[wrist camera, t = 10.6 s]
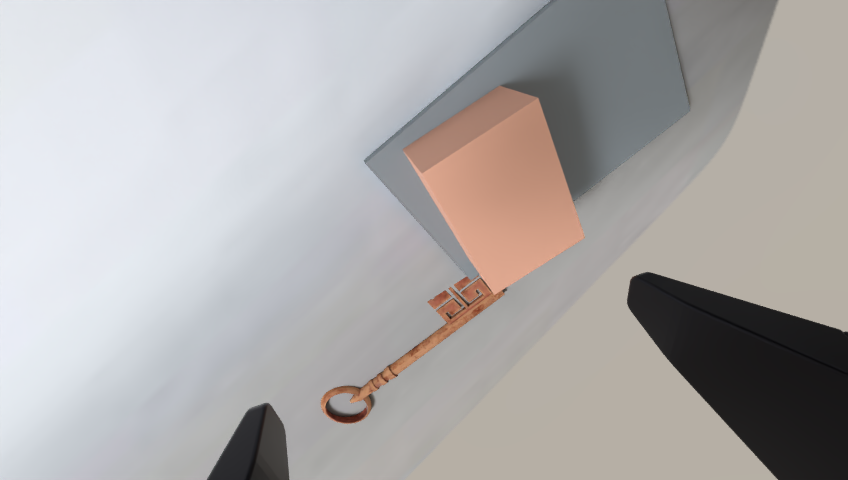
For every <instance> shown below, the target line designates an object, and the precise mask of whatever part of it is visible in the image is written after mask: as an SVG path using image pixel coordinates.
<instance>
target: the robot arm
mask: <svg viewBox="0 0 848 480" xmlns="http://www.w3.org/2000/svg"><path fill="white" fill-rule="evenodd" d="M627 304H628V307H629V309H630V310H631V312H632V313H633V314H634V316H635V317H636V318H637V320H638V321H639V322H640V324H641V325H642V326H643V328H644V329H645V330H646V332H647V333H648V334H649V336H650V337H651V338H652V339H653V341H654V342H655V344H656V345H657V346H658V347H659V349H660V350H661V351H662V353H663V354H664V355H665V356H666V358H667V359H668V360H669V361H670V362H671V364H672V365H673V366H674V367H675V368H676V369H677V370H678V371H679V373H680V374H681V375H682V376H683V377H684V378H685V379H686V380H687V381H688V382H689V383H690V385H691V386H692V387H693V388H694V389H695V390H696V391H697V392H698V393H699V394H700V395H701V396H702V397H703V399H704V400H705V401H706V402H707V403H708V404H709V405H710V406H711V407H712V408H713V409H714V411H715V412H716V413H717V414H718V415H719V416H720V417H721V418H722V419H723V420H724V422H725V423H726V424H727V425H728V426H729V427H730V428H731V429H732V430H733V431H734V432H735V433H736V435H737V436H738V437H739V438H740V439H741V440H742V441H743V442H744V443H745V444H746V445H747V447H748V448H749V449H750V450H751V451H752V452H753V453H754V454H755V455H756V456H757V457H758V459H759V460H760V461H761V462H762V463H763V464H764V465H765V466H766V467H767V468H768V469H769V470H770V471H771V473H772V474H773V475H774V476H775V477H776V478H777V479H778V480H848V332H842V331H841V330H839V329H836V328H833V327H829V326H826V325H823V324H819V323H816V322H813V321H809V320H806V319H803V318H799V317H796V316H793V315H790V314H786V313H783V312H780V311H776V310H773V309H770V308H766V307H763V306H760V305H756V304H753V303H750V302H747V301H743V300H740V299H736V298H733V297H730V296H727V295H723V294H720V293H717V292H714V291H710V290H707V289H704V288H700V287H697V286H694V285H690V284H687V283H684V282H680V281H677V280H674V279H670V278H667V277H664V276H661V275H657V274H654V273H650V272H646V273H642V274H639V275H636V276H634V277H632V279H631V280H630V286H629V292H628V298H627ZM207 480H289V469H288V457H287V446H286V434H285V429H284V425H283V423H282V421H281V420H280V418H279V417H278V415H277V414H276V412H275V411H274V409H273V408H272V406H271V405H270V404H269V403H264V404H261V405H258V406H255V407H252V408H250V409H249V410H248V411H247V412H246V413H245V415H244V417H243V419H242V420H241V422H240V424H239V425H238V427H237V429H236V430H235V432H234V434H233V436H232V437H231V439H230V441H229V442H228V444H227V446H226V448H225V449H224V451H223V453H222V454H221V456H220V458H219V460H218V461H217V463H216V465H215V466H214V468H213V470H212V472H211V473H210V475H209V477H208V478H207Z"/></svg>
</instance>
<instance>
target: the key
mask: <svg viewBox="0 0 848 480" xmlns="http://www.w3.org/2000/svg"><path fill="white" fill-rule="evenodd" d="M477 277H478V276H477ZM477 277H475V278H474V279H476V278H477ZM474 279H473V280H474ZM473 280H470V279H469V278H468V277H465V278H464V279H462V280H461V281H459V282H458V283H456V284H454V286H455V287H456V288H457V289H458V290H459V291H460V290H461V289H462V288H464V287H465V286H466V285H468V284H469V283H470V282H472V281H473ZM448 289H449V290H450V291H451V292H452V293H453V294H454V295H455V296H456V298H457V299H458V300H459V301H460V302H461V303H462V304H463V305H464V306H465V307H464V308H463V309H461V307H460V306H459V305H458V303H457V302H456V301H455V300H454V299H451V300H450V301H449V302H447V303H446V304H445V305H443V306H442V307H441V308H439V309H438V310H437V312H438V314H439V315H440V316H441V317H442V318H443V319H444V320H445V321H446V322H447V324H445V325H444V326H443V327H441V328H440V329H439V330H437V331H436V332H435V333H433V334H432V335H431V336H429V337H428V338H427V339H425V340H424V341H423V342H421V343H420V344H418V345H417V346H416V347H414V348H413V349H412V350H410V351H409V352H408V353H406V354H405V355H404V356H402V357H401V358H400V359H398V360H397V361H396V362H394V363H393V364H392V365H390V366H387V367H386V368H385V369H384V371H383V372H382V373H379V374H378V375H377V377H375V378H374V379H373V380H372V379H371V380H370V381H369V382H368V383H367V384H366V385H365V386H363V387H362V388H361V389H359V388H356V387H351V386H341V387H337V388H334V389H332V390H330V391H328V392H327V393H326V394H325V395H324V396H323V397H322V399H321V408H322V410H323V412H324V413H325V415H326V416H327V417H329V418H330V419H331V420H333V421H336V422H339V423H344V424H350V423H356V422H359V421H361V420H363V419H365V418H366V417H367V416H368V414H369V413H370V410H371V406H372V405H371V400H370V398H369V396H368V395H369V394H371V393H372V392H373V391H376V390H378V389H379V387H380V386H381V385H385V384H386V383H387V382H388V380H390V379H393V378H395V377H397V376H398V374H399V373H400V372H401V371H403V370H404V369H405V368H407V367H408V366H409V365H411V364H412V363H413V362H415V361H416V360H417V359H419V358H420V357H421V356H423V355H424V354H425V353H427V352H428V351H429V350H431V349H432V348H434V347H435V346H436V345H438V344H439V343H440V342H442V341H443V340H444V339H446V338H447V337H448V336H450V335H451V334H452V333H454V332H455V331H456V330H458V329H459V328H460V327H462V326H463V325H464V324H466V323H467V322H468V321H470V320H471V319H472V318H474V317H475V316H476V315H478V314H479V313H480V312H482V311H483V310H484V309H486V308H487V307H488V306H490V305H491V304H492V303H494V302H495V301H496V300H498V299H499V298H500V297H502V296H503V295H504V292H503V291H502V290H501V291H500V292H498V293H497V294H495V295H494V294H493V292H492V291H490V290H489V288H488V287H487V286H486V285H485V284H484V282H483V281H482V280H481V279H480V278H479V279H478V280H477V281H475V282H474V283H473V284H471V285H470V286H469V287H467V288H466V289H465V290H463V291H462V292H461V294H462V295H463V296H464V297H465V298H466V300H467V301H468V302H471V301H472V300H473V299H475V298H476V297H477V296H479V295H478V293H477V292H476V290H477V289H479V291H480V292H481V293H482V295H481V296H479V297H478V298H477V299H475V300H474V301H473V302H471V303H470V304H469V305H467V304H466V303H465V302H464V301H463V300H462V299H461V298H460V297H459V296H458V294H457V293H456V292H455V291H454V290H453V289H452V288H451V287H450V288H448ZM450 297H451V296H450V295H449V294H448V293H447V292H446V291H443V292H442V293H440V294H439V295H437V296H436V297H435V298H434V299H431V300H429V301H428V303H429V304H430V305H431V306H432V307H433V308H434V309H436V308H437V307H439V306H440V305H441V304H443V303H444V302H445V301H446V300H448V299H449V298H450ZM460 309H461V310H460ZM459 310H460V311H459ZM457 311H459V312H457ZM447 312H449V313H450V314H451V315H453V314H455V313H456V312H457V313H456V314H455V315H453V316H452V317H451V318H450V317H449V316H448V315H447V314H446V313H447ZM340 393H351V394H354V395H353V397H352V399H351V400H350V402H351V403H353V402H357V401H361V400H364V401H365V402H366V404H367V406H366V408H365V409H364V410H363V411H362V412H361V413H359V414H357V415H354V416H350V417H340V416H336V415H333V414H332V413H330V412H329V411H328V410H327V409H326V407H325V406H326V403H327V401H328V400H329V399H330V398H331V397H333V396H334V395H337V394H340Z"/></svg>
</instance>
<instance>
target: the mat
mask: <svg viewBox="0 0 848 480" xmlns="http://www.w3.org/2000/svg"><path fill="white" fill-rule="evenodd" d="M498 86H502V87H505V88H509V89H512V90H515V91H518V92H521V93H525V94H528V95H531V96H534V97H537V98H539V101H540V104H541V107H542V110H543V113H544V116H545V119H546V122H547V125H548V128H549V131H550V134H551V137H552V140H553V143H554V146H555V149H556V152H557V155H558V158H559V161H560V164H561V167H562V170H563V173H564V176H565V179H566V182H567V185H568V188H569V191H570V194H571V197H572V200H573V201H575V200H576V199H577V198H578V197H580V196H581V195H582V194H584V193H585V192H586V191H587V190H589V189H590V188H591V187H593V186H594V185H595V184H596V183H598V182H599V181H600V180H602V179H603V178H604V177H605V176H607V175H608V174H609V173H611V172H612V171H613V170H615V169H616V168H617V167H618V166H620V165H621V164H622V163H624V162H625V161H626V160H627V159H629V158H630V157H631V156H633V155H634V154H635V153H636V152H638V151H639V150H640V149H642V148H643V147H644V146H645V145H647V144H648V143H649V142H651V141H652V140H653V139H654V138H656V137H657V136H658V135H660V134H661V133H662V132H664V131H665V130H666V129H667V128H669V127H670V126H671V125H673V124H674V123H675V122H676V121H678V120H679V119H680V118H682V117H683V116H684V115H685V114H687V113H688V112H689V111H690V106H689V102H688V98H687V93H686V89H685V85H684V80H683V76H682V72H681V67H680V63H679V59H678V54H677V50H676V46H675V41H674V37H673V33H672V28H671V24H670V20H669V15H668V11H667V7H666V2H665V0H552V1H550V2H549V3H548V4H547V5H546V6H544V7H543V8H542V9H541V10H540V11H539V12H537V13H536V14H535V15H534V16H533V17H532V18H530V19H529V20H528V21H527V22H526V23H525V24H523V25H522V26H521V27H520V28H519V29H517V30H516V31H515V32H514V33H513V34H512V35H510V36H509V37H508V38H507V39H506V40H505V41H503V42H502V43H501V44H500V45H499V46H498V47H496V48H495V49H494V50H493V51H492V52H491V53H489V54H488V55H487V56H486V57H485V58H483V59H482V60H481V61H480V62H479V63H478V64H476V65H475V66H474V67H473V68H472V69H471V70H469V71H468V72H467V73H466V74H465V75H464V76H462V77H461V78H460V79H459V80H458V81H456V82H455V83H454V84H453V85H452V86H451V87H449V88H448V89H447V90H446V91H445V92H444V93H442V94H441V95H440V96H439V97H438V98H437V99H435V100H434V101H433V102H432V103H431V104H429V105H428V106H427V107H426V108H425V109H424V110H422V111H421V112H420V113H419V114H418V115H417V116H415V117H414V118H413V119H412V120H411V121H410V122H408V123H407V124H406V125H405V126H404V127H403V128H401V129H400V130H399V131H398V132H397V133H395V134H394V135H393V136H392V137H391V138H390V139H388V140H387V141H386V142H385V143H384V144H383V145H381V146H380V147H379V148H378V149H377V150H376V151H374V152H373V153H372V154H371V155H370V156H368V157H367V158H366V159H365V160H364V162H365V164H366V165H367V166H368V167H369V168H370V169H371V170H372V171H373V173H374V174H375V175H376V176H377V177H378V178H379V179H380V180H381V181H382V183H383V184H384V185H385V186H386V187H387V188H388V189H389V190H390V191H391V193H392V194H393V195H394V196H395V197H396V198H397V199H398V200H399V201H400V203H401V204H402V205H403V206H404V207H405V208H406V209H407V210H408V211H409V213H410V214H411V215H412V216H413V217H414V218H415V219H416V220H417V221H418V223H419V224H420V225H421V226H422V227H423V228H424V229H425V230H426V231H427V233H428V234H429V235H430V236H431V237H432V238H433V239H434V240H435V241H436V242H437V244H438V245H439V246H440V247H441V248H442V249H443V250H444V251H445V252H446V254H447V255H448V256H449V257H450V258H451V259H452V260H453V261H454V262H455V264H456V265H457V266H458V267H459V268H460V269H461V270H462V271H463V272H464V274H465V275H466V276H467V277H468V278H469V279H470V280H473V279H474V278H475V277H477V276H478V275H479V273H478V271H477V270H476V268H475V267H474V266H473V264H472V263H471V261H470V260H469V258H468V257H467V255H466V253H465V252H464V250H463V248H462V247H461V245H460V243H459V242H458V240H457V239H456V237H455V235H454V234H453V232H452V230H451V229H450V227H449V225H448V224H447V222H446V220H445V219H444V217H443V215H442V214H441V212H440V211H439V209H438V207H437V206H436V204H435V202H434V201H433V199H432V197H431V196H430V194H429V192H428V191H427V189H426V188H425V186H424V184H423V183H422V181H421V179H420V178H419V176H418V174H417V173H416V171H415V169H414V168H413V166H412V164H411V163H410V161H409V160H408V158H407V156H406V155H405V153H404V151H403V150H402V149H404V148H405V147H407V146H408V145H410V144H411V143H413V142H414V141H416V140H417V139H419V138H420V137H422V136H423V135H425V134H426V133H428V132H430V131H431V130H433V129H434V128H436V127H437V126H439V125H440V124H442V123H443V122H445V121H446V120H448V119H449V118H451V117H452V116H454V115H455V114H457V113H459V112H460V111H462V110H463V109H465V108H466V107H468V106H469V105H471V104H472V103H474V102H475V101H477V100H478V99H480V98H481V97H483V96H484V95H486V94H488V93H489V92H491V91H492V90H494V89H495V88H497V87H498Z"/></svg>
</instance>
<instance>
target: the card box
mask: <svg viewBox="0 0 848 480" xmlns="http://www.w3.org/2000/svg"><path fill="white" fill-rule="evenodd" d="M402 150H403V151H404V153H405V155H406V156H407V158H408V160H409V161H410V163H411V164H412V166H413V168H414V169H415V171H416V173H417V174H418V176H419V178H420V179H421V181H422V183H423V184H424V186H425V188H426V189H427V191H428V192H429V194H430V196H431V197H432V199H433V201H434V202H435V204H436V206H437V207H438V209H439V211H440V212H441V214H442V215H443V217H444V219H445V220H446V222H447V224H448V225H449V227H450V229H451V230H452V232H453V234H454V235H455V237H456V239H457V240H458V242H459V243H460V245H461V247H462V248H463V250H464V252H465V253H466V255H467V257H468V258H469V260H470V261H471V263H472V264H473V266H474V267H475V268H476V270H477V271H478V273H479V274H480V275H481V277H482V278H483V280H484V281H485V282H486V284H487V285H488V287H489V288H490V289H491V291H492V292H493V294H494V295H495V294H497V293H498V292H500V291H501V290H503V289H505V288H506V287H508V286H509V285H511V284H512V283H514V282H516V281H517V280H519V279H520V278H522V277H524V276H525V275H527V274H528V273H530V272H532V271H533V270H535V269H536V268H538V267H539V266H541V265H543V264H544V263H546V262H547V261H549V260H551V259H552V258H554V257H555V256H557V255H558V254H560V253H562V252H563V251H565V250H566V249H568V248H570V247H571V246H573V245H574V244H576V243H577V242H579V241H581V240H582V239H584V238H585V236H584V233H583V230H582V227H581V224H580V221H579V218H578V215H577V212H576V209H575V206H574V203H573V200H572V197H571V194H570V191H569V188H568V185H567V182H566V179H565V176H564V173H563V170H562V167H561V164H560V161H559V158H558V155H557V152H556V149H555V146H554V143H553V140H552V137H551V134H550V131H549V128H548V125H547V122H546V119H545V116H544V113H543V110H542V107H541V104H540V101H539V98H537V97H534V96H531V95H528V94H525V93H521V92H518V91H515V90H512V89H509V88H505V87H502V86H498V87H497V88H495V89H494V90H492V91H491V92H489V93H488V94H486V95H484V96H483V97H481V98H480V99H478V100H477V101H475V102H474V103H472V104H471V105H469V106H468V107H466V108H465V109H463V110H462V111H460V112H459V113H457V114H455V115H454V116H452V117H451V118H449V119H448V120H446V121H445V122H443V123H442V124H440V125H439V126H437V127H436V128H434V129H433V130H431V131H430V132H428V133H426V134H425V135H423V136H422V137H420V138H419V139H417V140H416V141H414V142H413V143H411V144H410V145H408V146H407V147H405V148H404V149H402Z"/></svg>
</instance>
